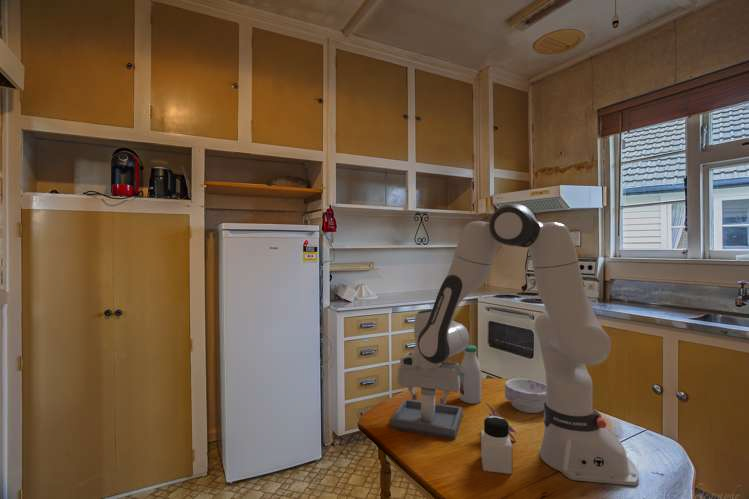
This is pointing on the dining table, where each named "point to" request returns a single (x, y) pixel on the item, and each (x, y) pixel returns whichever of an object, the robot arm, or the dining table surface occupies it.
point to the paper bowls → (526, 394)
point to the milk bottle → (470, 377)
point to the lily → (508, 424)
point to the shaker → (427, 405)
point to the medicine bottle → (496, 446)
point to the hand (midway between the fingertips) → (428, 401)
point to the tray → (411, 421)
